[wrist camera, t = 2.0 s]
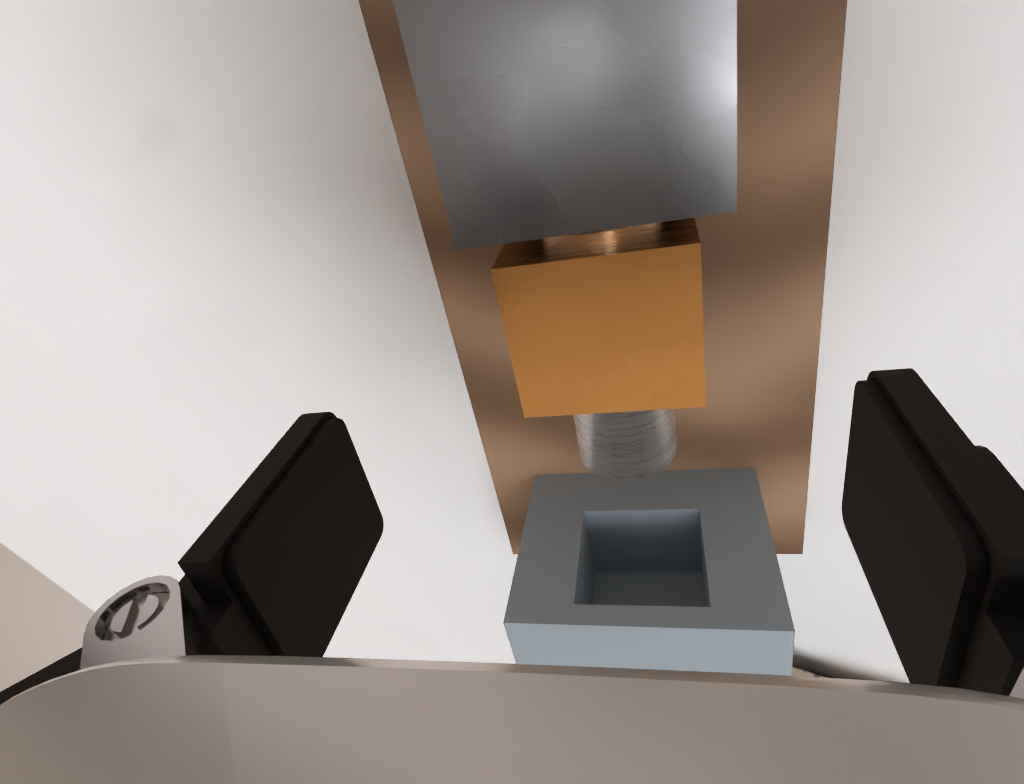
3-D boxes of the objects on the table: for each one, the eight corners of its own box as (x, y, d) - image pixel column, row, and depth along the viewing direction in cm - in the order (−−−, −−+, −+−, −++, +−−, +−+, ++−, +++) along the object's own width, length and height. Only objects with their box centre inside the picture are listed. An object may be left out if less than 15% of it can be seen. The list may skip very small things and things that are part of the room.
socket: (535, 474, 26) (503, 623, 20) (755, 467, 24) (794, 631, 18) (553, 553, 29) (530, 706, 23) (753, 553, 26) (787, 723, 20)
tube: (437, -337, 12) (303, -553, 7) (655, -425, 11) (667, -747, 6) (568, 399, 22) (546, 518, 17) (693, 391, 21) (709, 515, 16)
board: (291, -323, 15) (260, -351, 14) (871, -570, 12) (898, -636, 10) (518, 531, 30) (513, 554, 29) (794, 528, 27) (802, 554, 26)
